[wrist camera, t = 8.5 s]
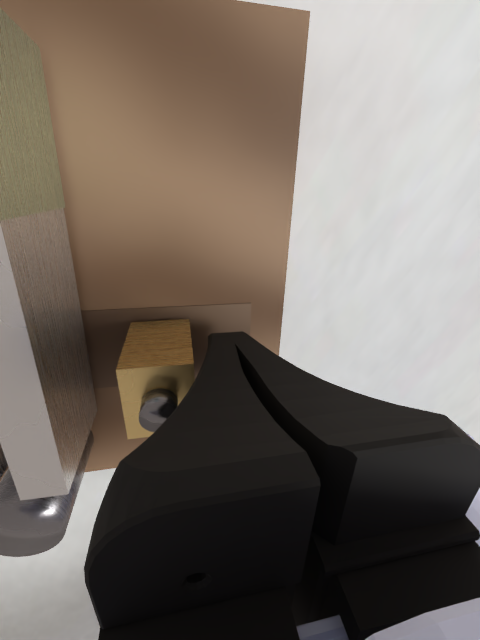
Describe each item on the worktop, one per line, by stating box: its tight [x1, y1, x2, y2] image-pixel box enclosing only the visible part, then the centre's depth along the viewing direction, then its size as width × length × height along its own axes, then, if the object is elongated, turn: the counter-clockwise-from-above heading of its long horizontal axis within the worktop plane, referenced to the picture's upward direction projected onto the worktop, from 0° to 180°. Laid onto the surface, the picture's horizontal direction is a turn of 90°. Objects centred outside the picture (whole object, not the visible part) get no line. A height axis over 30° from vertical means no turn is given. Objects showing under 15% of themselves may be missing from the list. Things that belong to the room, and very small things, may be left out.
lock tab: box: [116, 319, 195, 439], centre depth 9 cm, size 2×2×4 cm
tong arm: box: [0, 8, 97, 501], centre depth 8 cm, size 11×1×4 cm, turn 176°
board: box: [0, 0, 310, 481], centre depth 11 cm, size 16×12×1 cm
